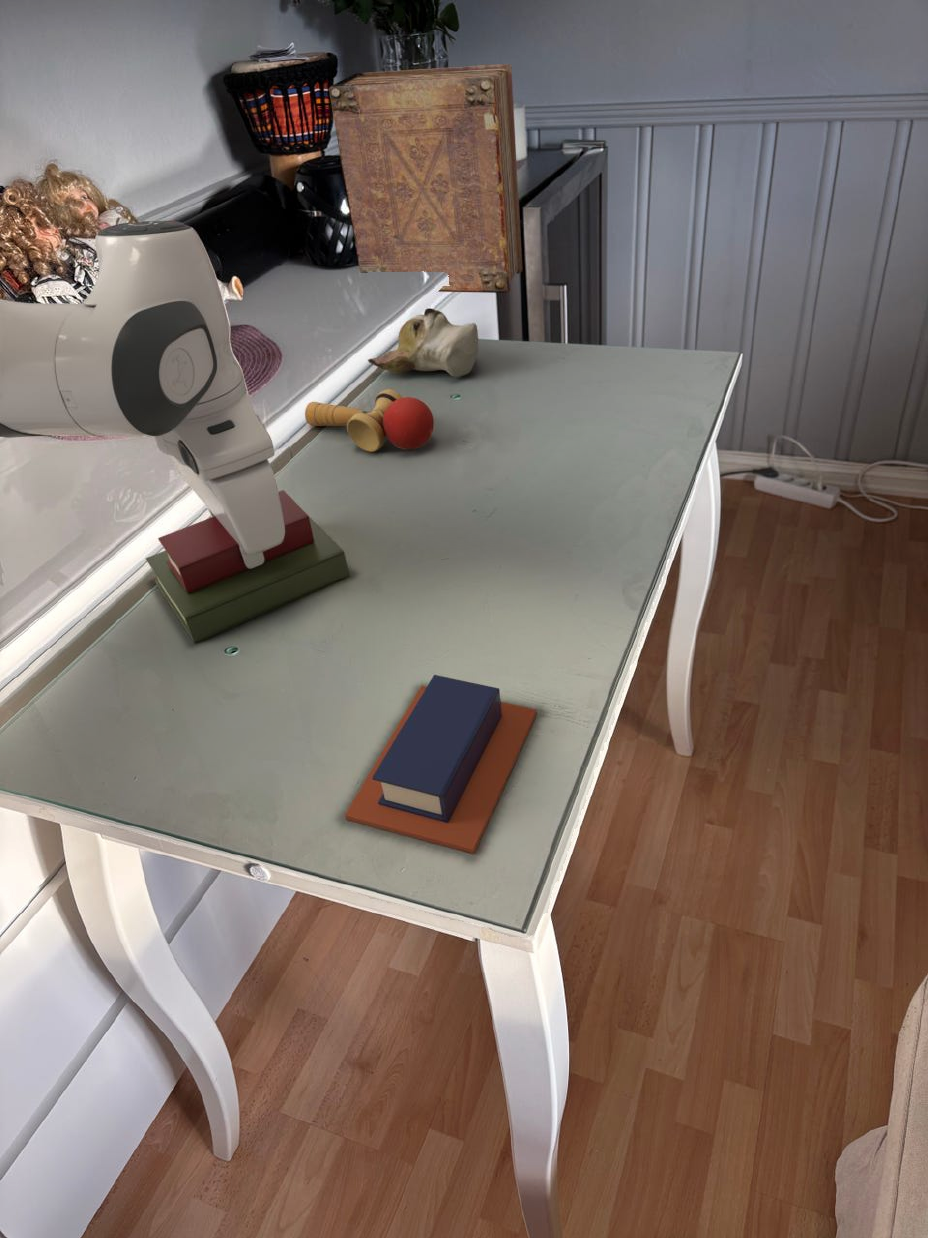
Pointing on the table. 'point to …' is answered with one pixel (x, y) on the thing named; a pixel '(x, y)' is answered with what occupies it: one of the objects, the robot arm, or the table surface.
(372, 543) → the table surface
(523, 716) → the rubber mat
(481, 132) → the book
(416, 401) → the kendama
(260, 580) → the olive book
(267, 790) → the table surface
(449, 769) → the navy book
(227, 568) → the burgundy book
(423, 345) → the ceramic sculpture
